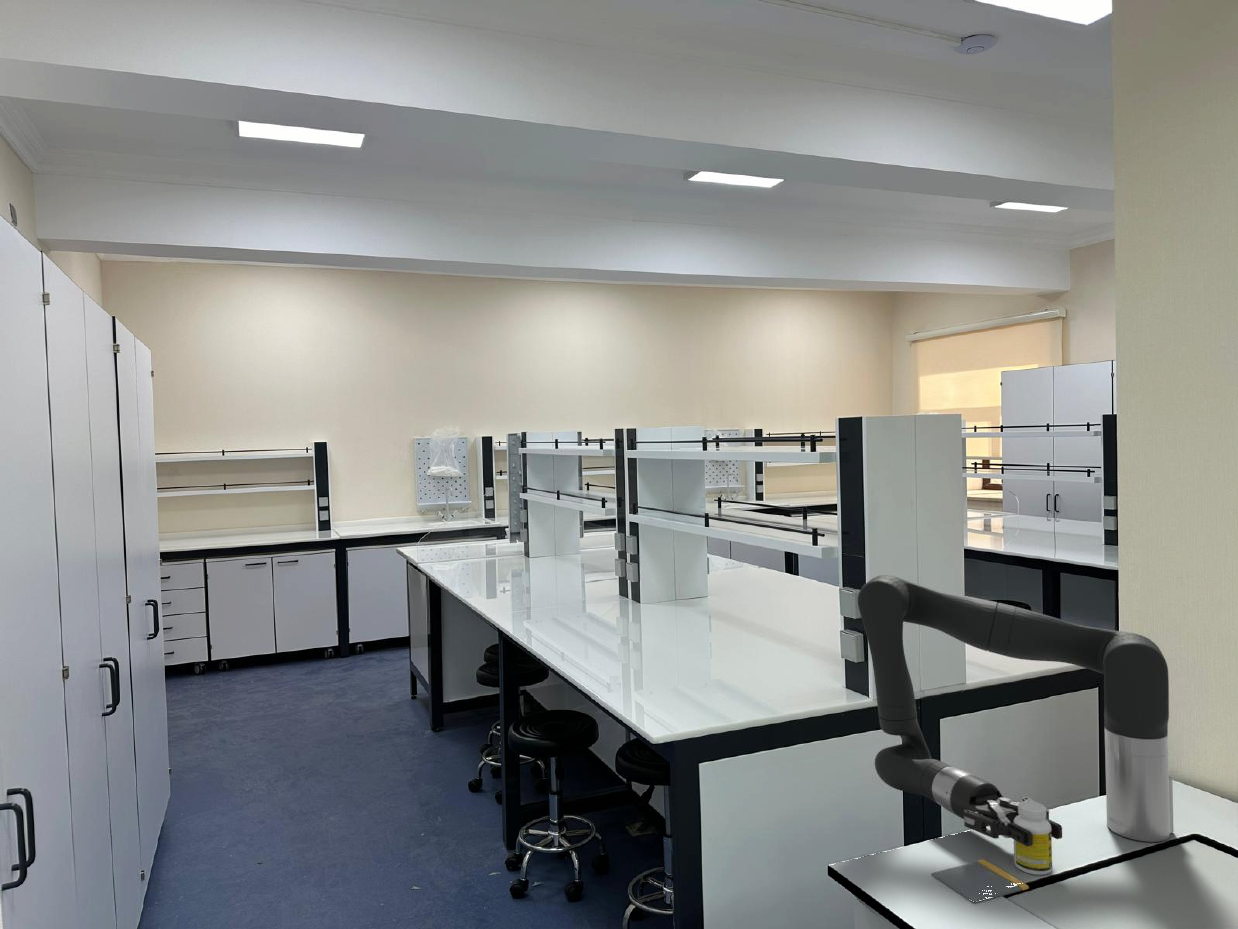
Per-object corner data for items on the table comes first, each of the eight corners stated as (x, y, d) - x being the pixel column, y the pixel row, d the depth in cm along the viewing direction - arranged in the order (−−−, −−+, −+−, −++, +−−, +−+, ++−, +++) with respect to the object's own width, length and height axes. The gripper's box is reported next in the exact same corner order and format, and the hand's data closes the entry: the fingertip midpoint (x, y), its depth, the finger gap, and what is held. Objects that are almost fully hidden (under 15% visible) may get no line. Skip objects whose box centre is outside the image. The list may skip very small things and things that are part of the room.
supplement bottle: (1057, 877, 129) (1055, 814, 129) (1019, 875, 130) (1017, 812, 130) (1046, 860, 134) (1045, 799, 134) (1010, 858, 135) (1008, 798, 135)
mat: (983, 861, 134) (983, 859, 134) (1028, 888, 126) (1028, 886, 126) (931, 875, 131) (931, 872, 131) (974, 903, 122) (974, 900, 122)
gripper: (931, 781, 143) (1009, 821, 127) (997, 767, 148) (1080, 804, 132) (933, 824, 143) (1010, 870, 127) (998, 810, 148) (1081, 851, 132)
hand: (1045, 836), depth 130 cm, fingers closed on supplement bottle, 5 cm apart
